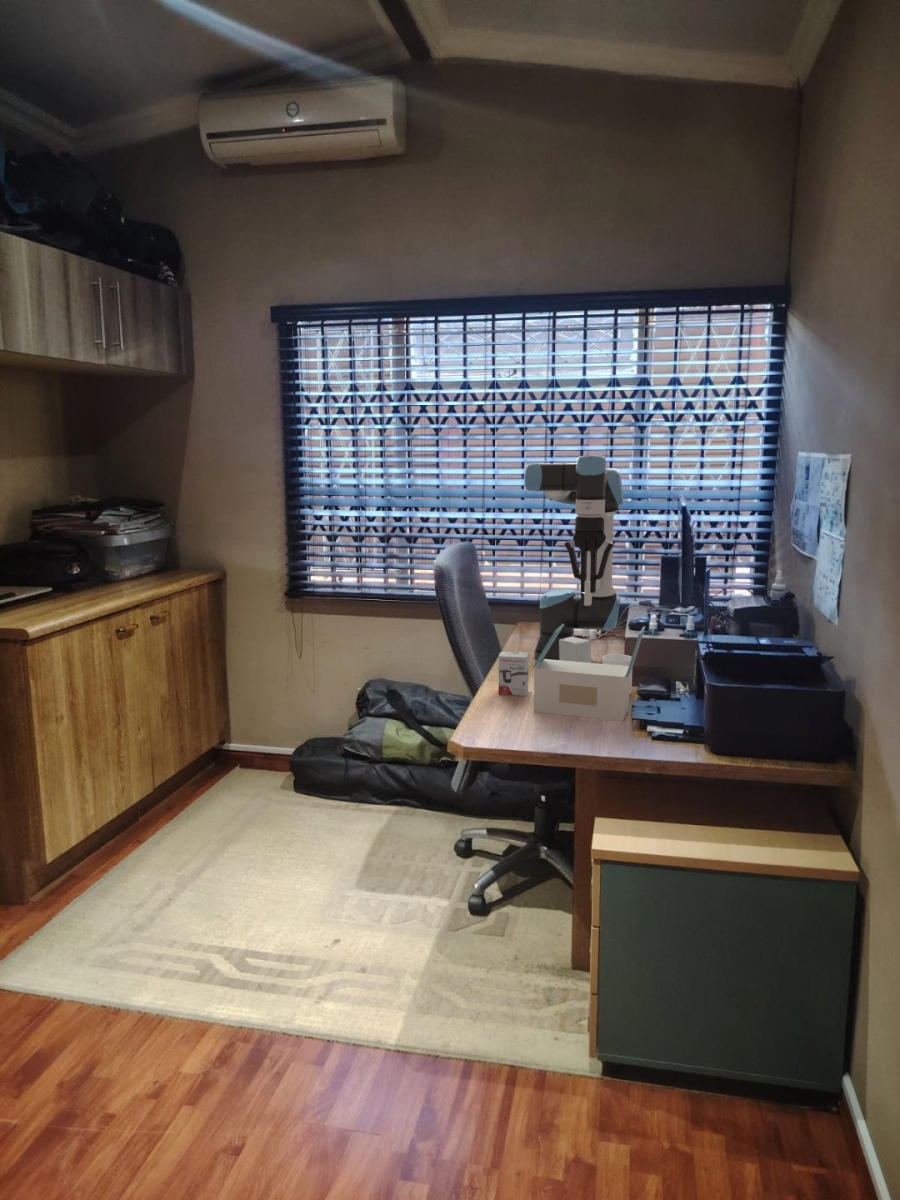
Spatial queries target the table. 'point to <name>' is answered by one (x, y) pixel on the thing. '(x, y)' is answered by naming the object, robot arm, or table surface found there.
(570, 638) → the skincare box
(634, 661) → the flap
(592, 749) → the table surface
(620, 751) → the table surface
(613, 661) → the mug
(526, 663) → the ink box
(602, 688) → the carton
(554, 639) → the flap
